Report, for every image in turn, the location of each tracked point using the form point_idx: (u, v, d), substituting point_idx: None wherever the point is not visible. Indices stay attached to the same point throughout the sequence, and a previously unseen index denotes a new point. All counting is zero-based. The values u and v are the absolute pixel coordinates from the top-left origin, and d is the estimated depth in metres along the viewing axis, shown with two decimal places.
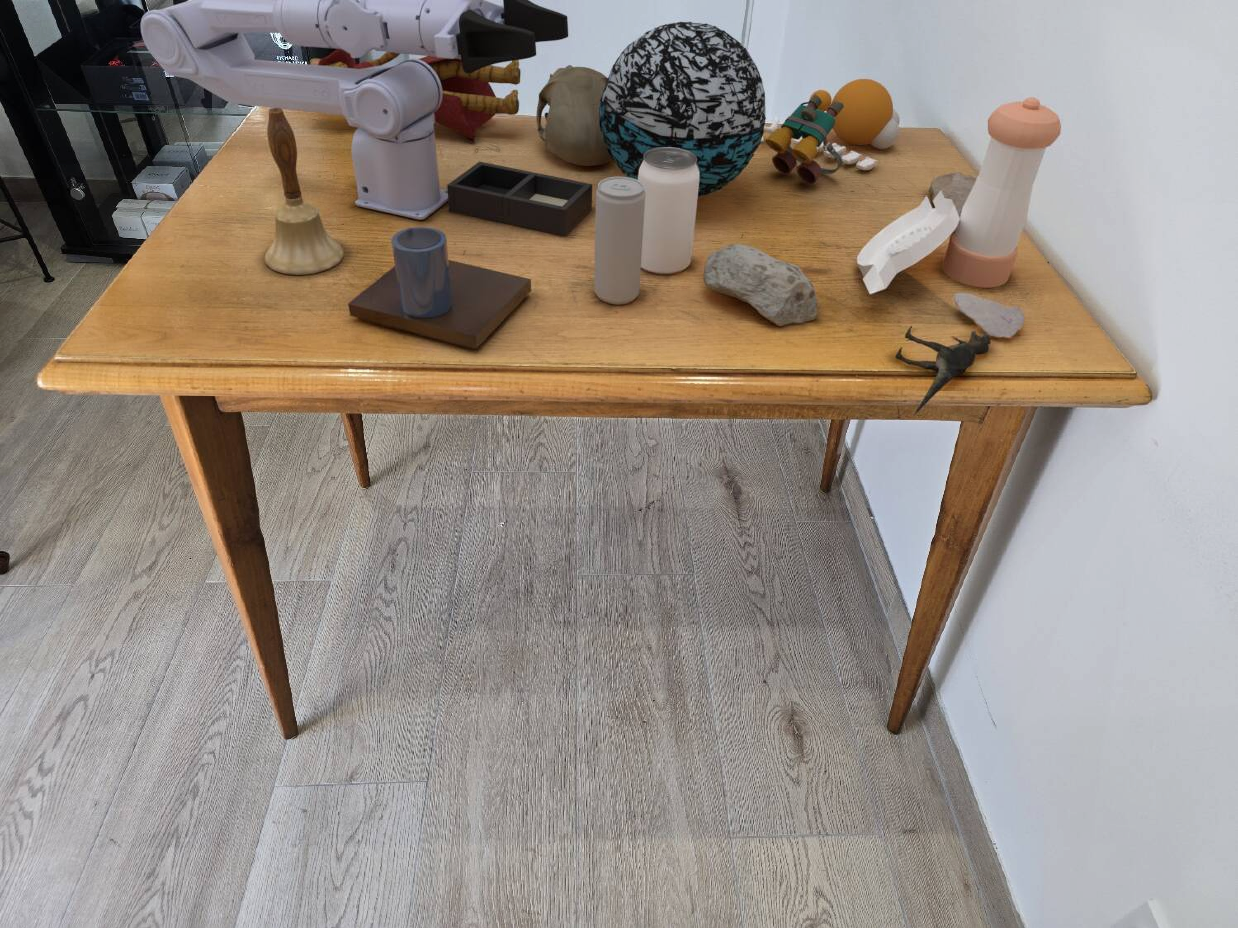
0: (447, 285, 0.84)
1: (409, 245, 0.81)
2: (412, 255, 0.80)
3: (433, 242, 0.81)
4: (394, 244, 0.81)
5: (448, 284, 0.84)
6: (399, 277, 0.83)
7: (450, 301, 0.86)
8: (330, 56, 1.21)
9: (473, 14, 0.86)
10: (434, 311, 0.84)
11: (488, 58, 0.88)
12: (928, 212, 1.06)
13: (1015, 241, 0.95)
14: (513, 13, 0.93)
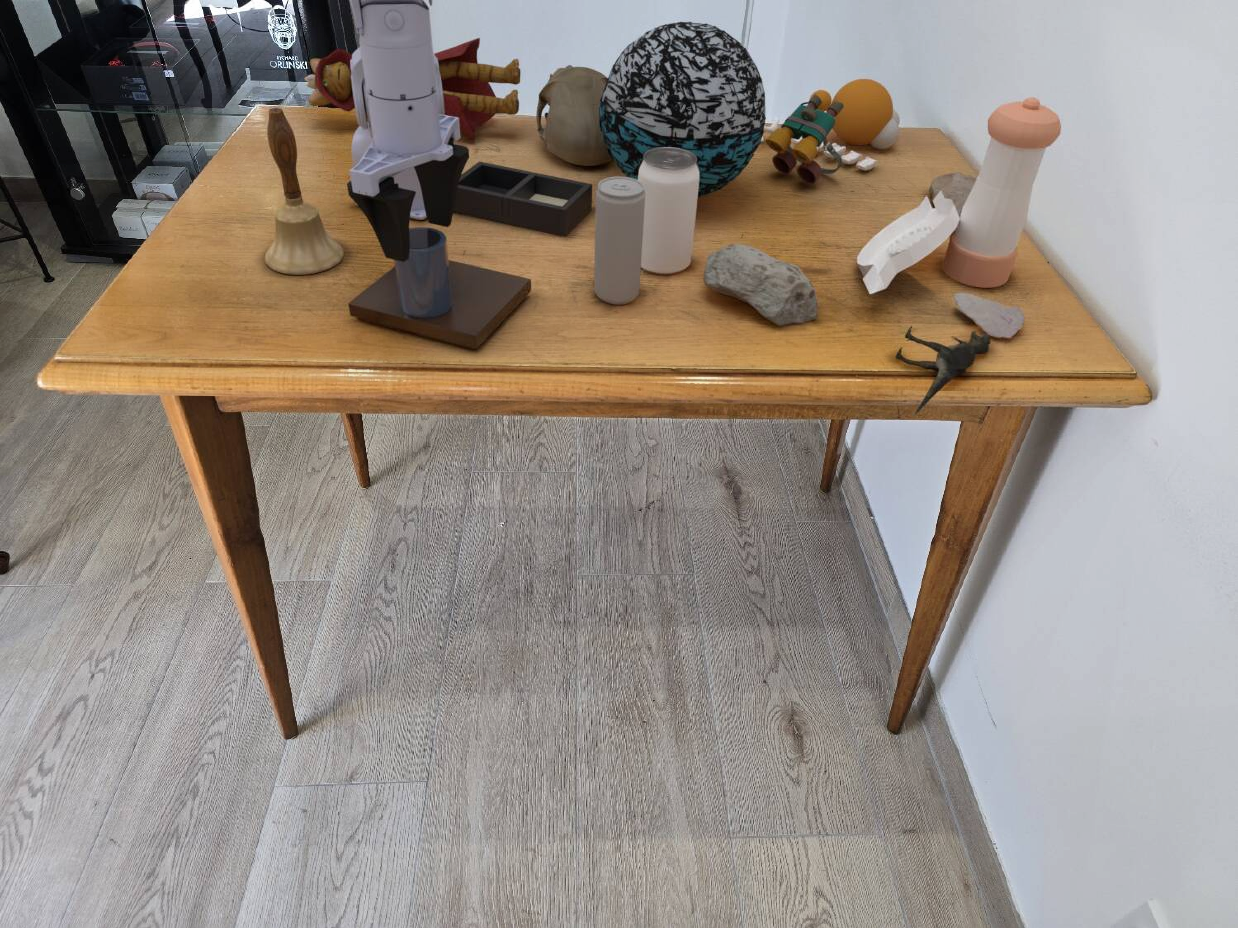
0: (447, 285, 0.84)
1: None
2: (412, 255, 0.80)
3: (433, 242, 0.81)
4: None
5: (448, 284, 0.84)
6: (399, 277, 0.83)
7: (450, 301, 0.86)
8: (330, 56, 1.21)
9: (410, 200, 0.74)
10: (434, 311, 0.84)
11: (369, 213, 0.76)
12: (928, 212, 1.06)
13: (1015, 241, 0.95)
14: (443, 165, 0.80)
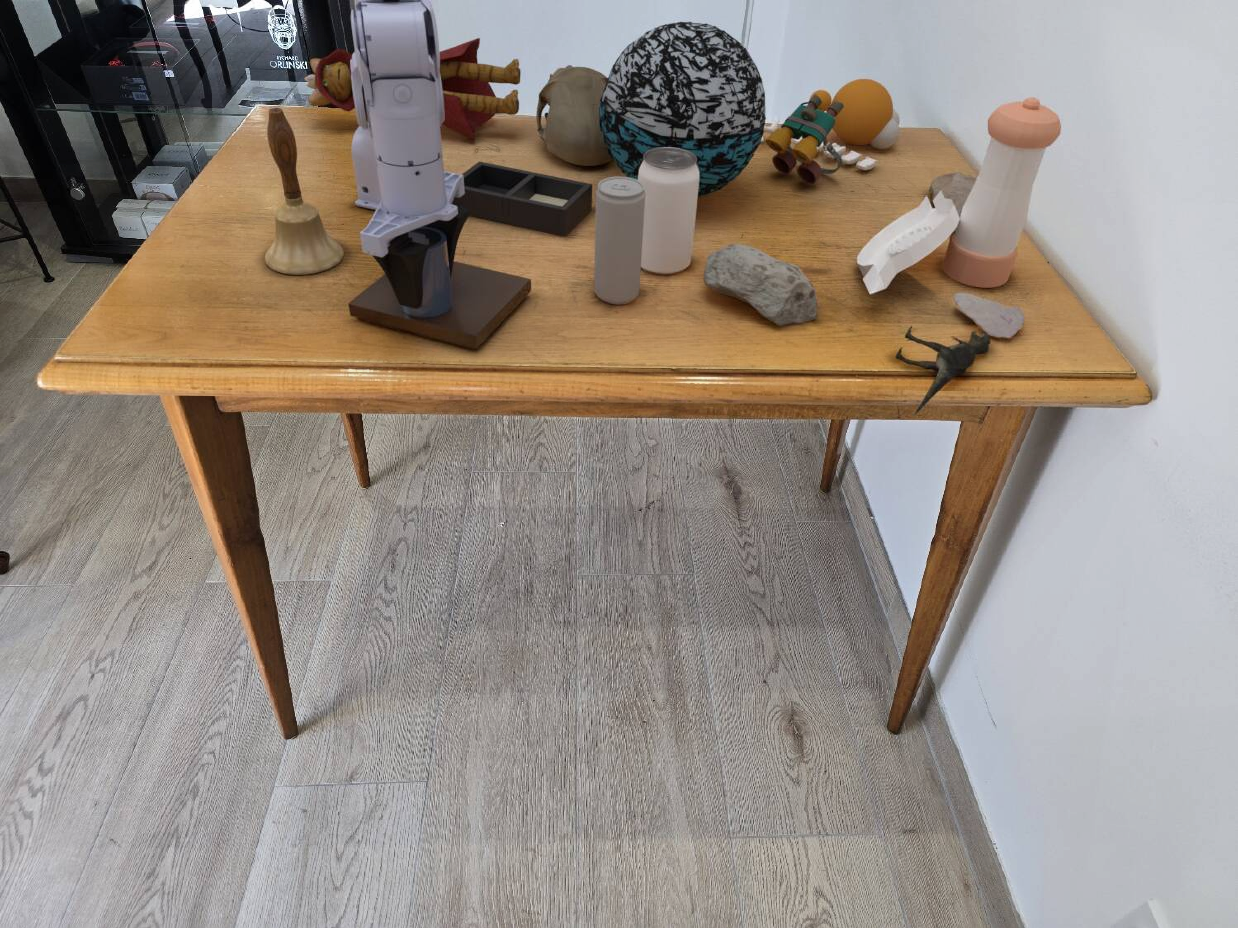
0: (447, 284, 0.84)
1: None
2: None
3: (433, 242, 0.81)
4: None
5: (448, 284, 0.84)
6: None
7: (450, 301, 0.86)
8: (330, 56, 1.21)
9: (423, 254, 0.79)
10: (434, 311, 0.84)
11: (385, 265, 0.80)
12: (928, 212, 1.06)
13: (1015, 241, 0.95)
14: (442, 225, 0.83)
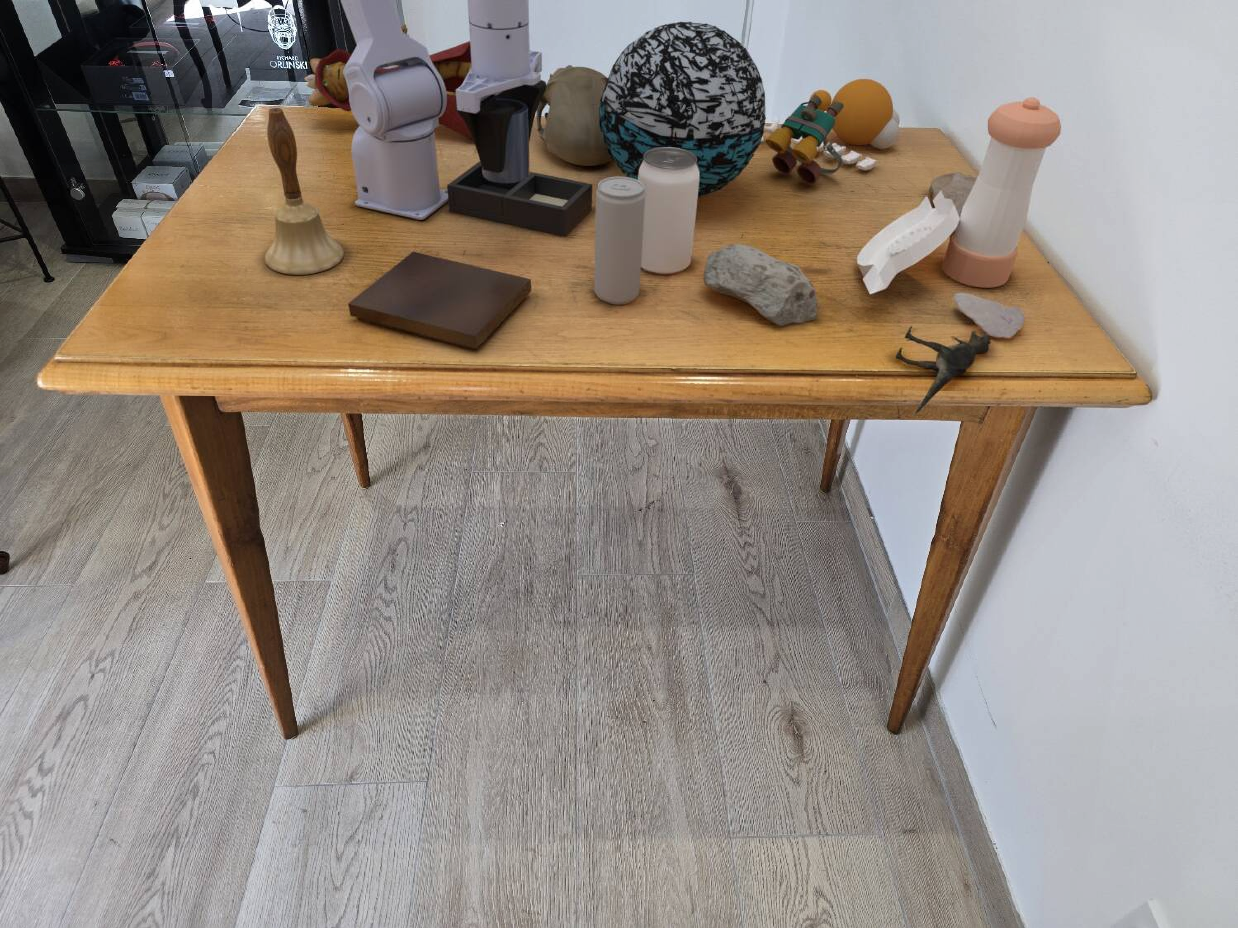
0: (527, 152, 0.92)
1: None
2: None
3: (516, 109, 0.89)
4: None
5: (527, 152, 0.92)
6: None
7: (528, 170, 0.93)
8: (330, 56, 1.21)
9: (509, 116, 0.86)
10: (514, 177, 0.92)
11: (473, 128, 0.88)
12: (928, 212, 1.06)
13: (1015, 241, 0.95)
14: (523, 96, 0.91)
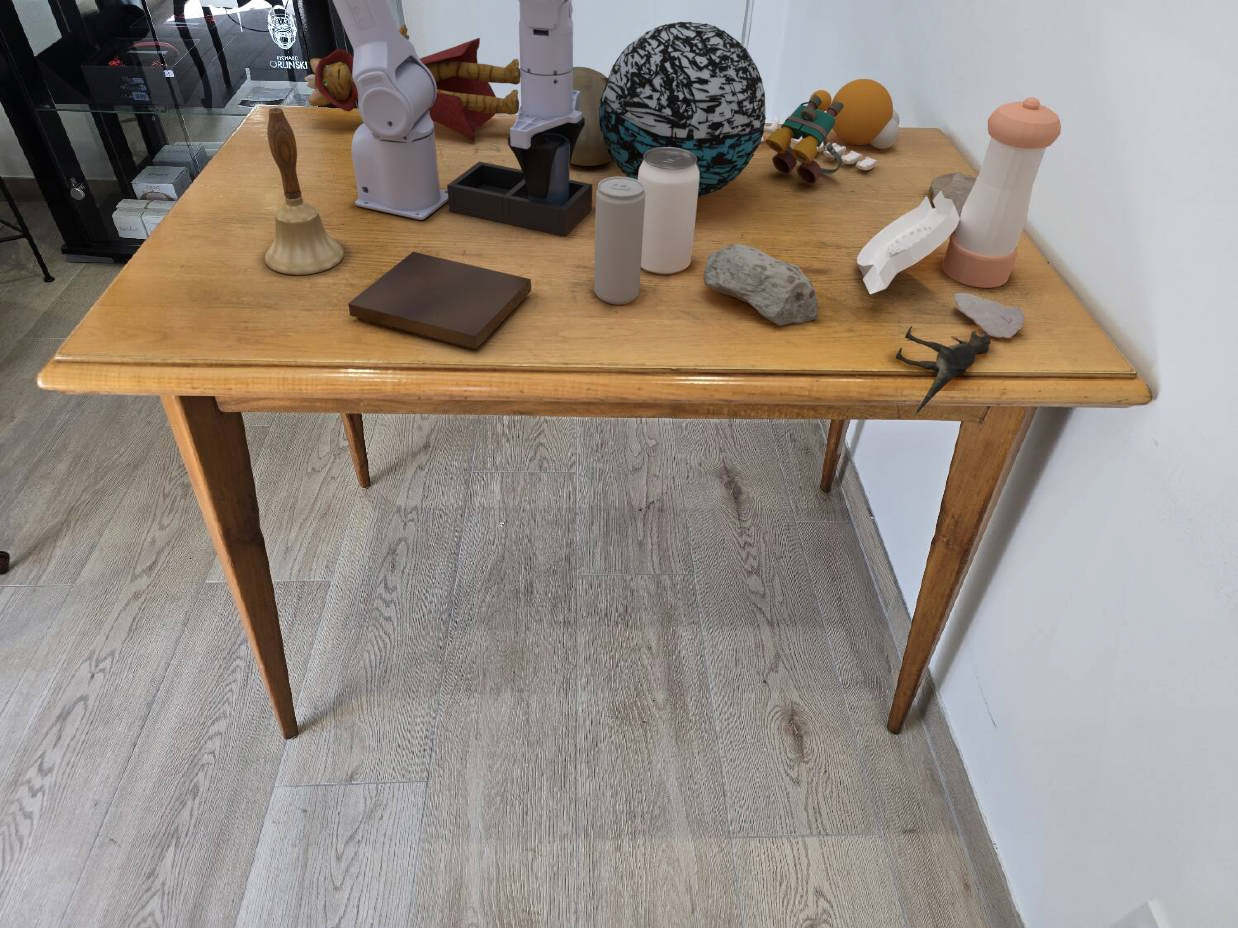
0: (568, 180, 1.03)
1: None
2: None
3: (560, 143, 1.00)
4: None
5: (569, 180, 1.03)
6: None
7: (569, 195, 1.05)
8: (330, 56, 1.21)
9: (555, 150, 0.98)
10: (557, 202, 1.04)
11: (522, 160, 0.99)
12: (928, 212, 1.06)
13: (1015, 241, 0.95)
14: (565, 131, 1.02)
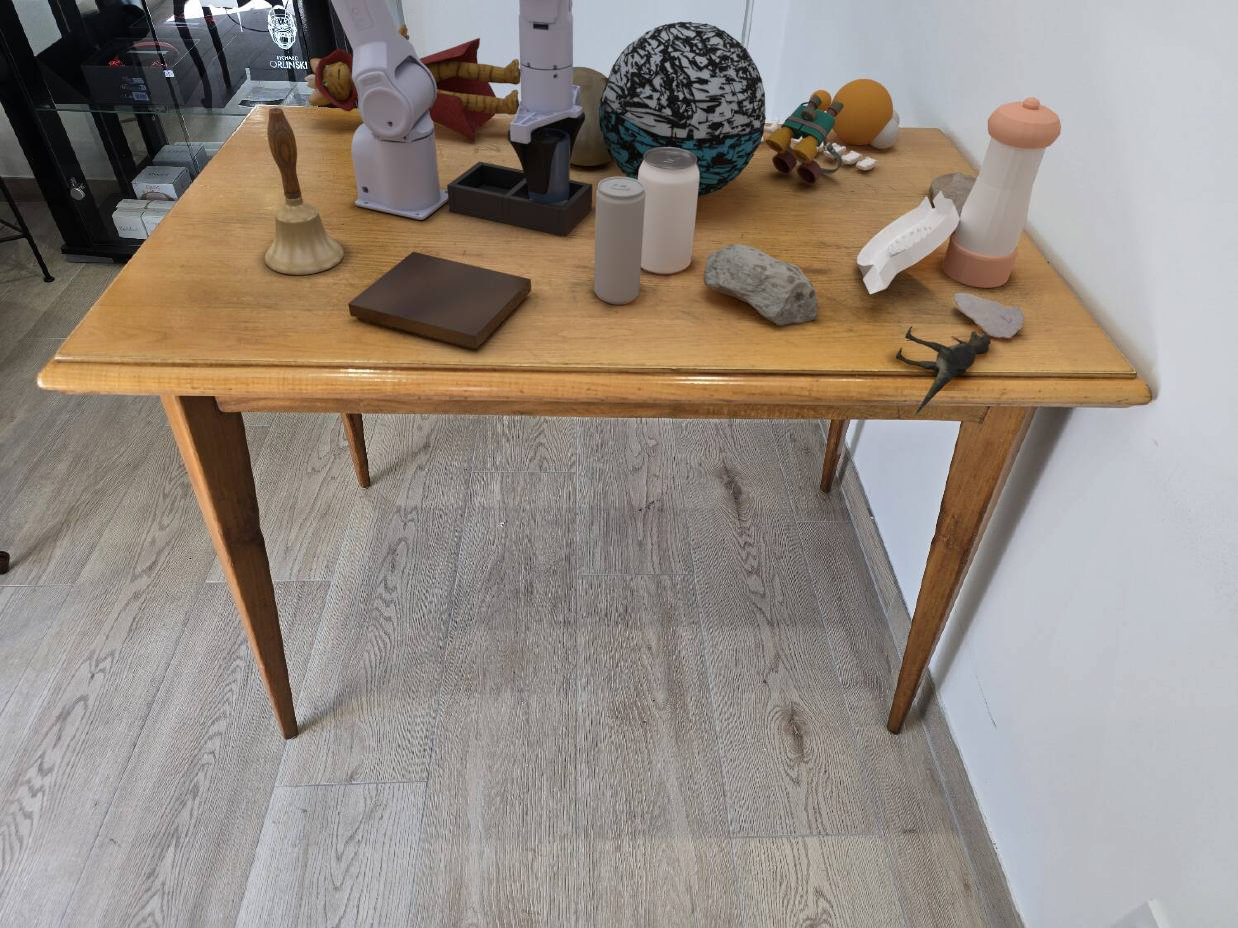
0: (568, 176, 1.03)
1: None
2: None
3: (560, 138, 1.00)
4: None
5: (569, 176, 1.03)
6: None
7: (569, 191, 1.04)
8: (330, 56, 1.21)
9: (555, 145, 0.97)
10: (557, 198, 1.03)
11: (522, 155, 0.99)
12: (928, 212, 1.06)
13: (1015, 241, 0.95)
14: (565, 126, 1.02)
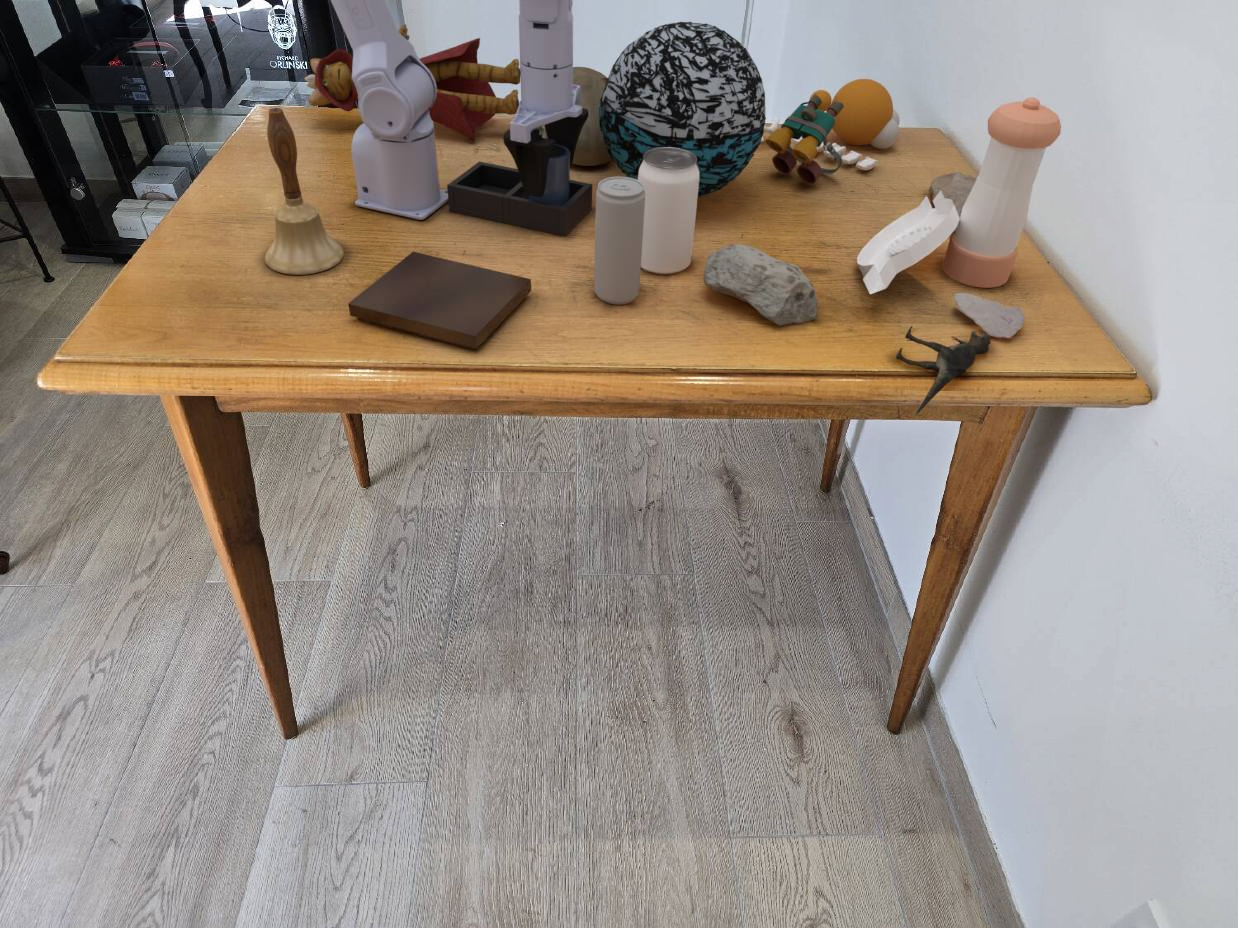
0: (568, 190, 1.04)
1: None
2: None
3: (560, 154, 1.01)
4: None
5: (569, 190, 1.04)
6: None
7: None
8: (330, 56, 1.21)
9: (551, 147, 0.96)
10: None
11: (518, 158, 0.98)
12: (928, 212, 1.06)
13: (1015, 241, 0.95)
14: (568, 122, 1.03)
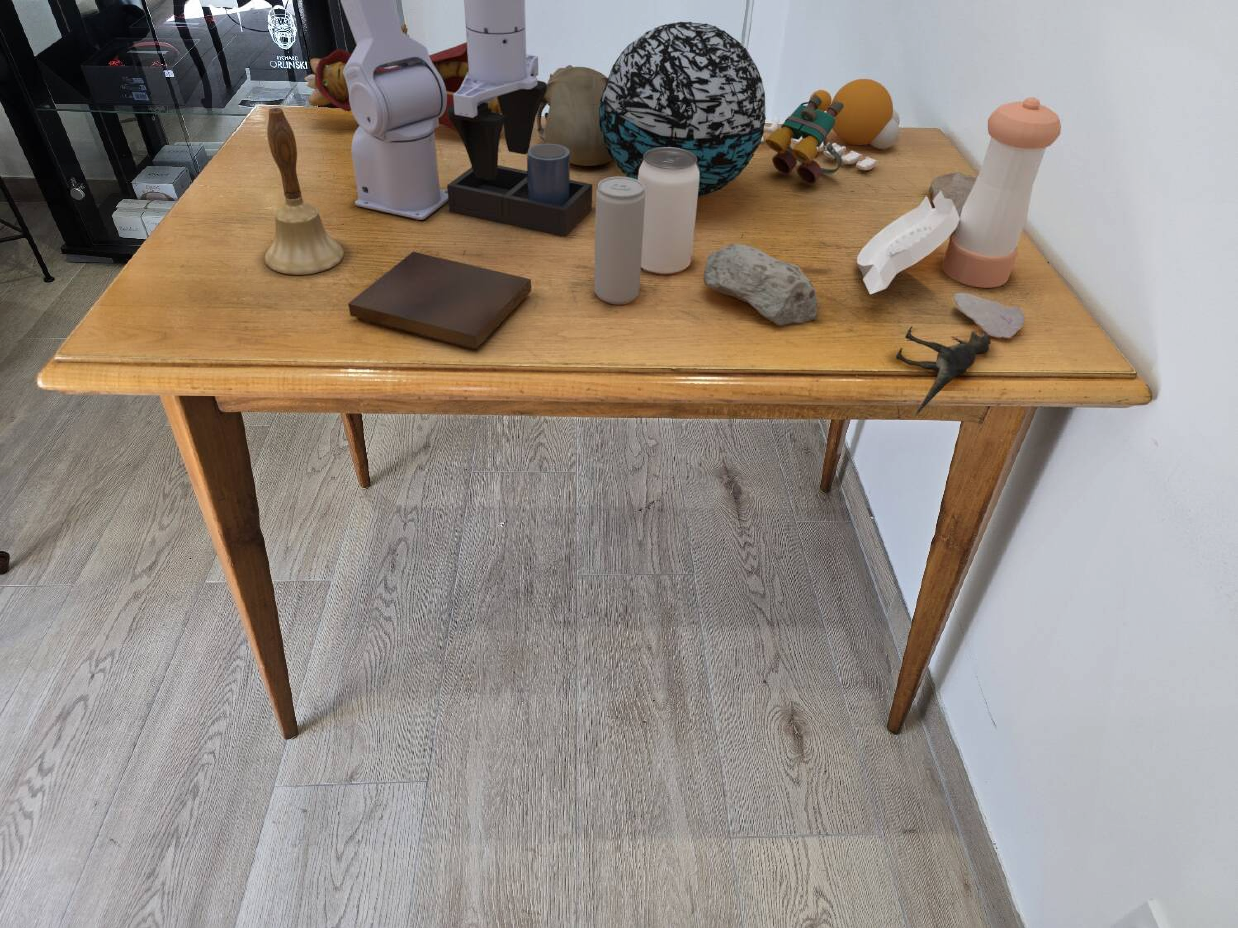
0: (568, 190, 1.04)
1: (542, 155, 1.01)
2: (545, 163, 1.00)
3: (560, 154, 1.01)
4: (529, 155, 1.01)
5: (569, 190, 1.04)
6: (531, 183, 1.02)
7: None
8: (330, 56, 1.21)
9: (502, 123, 0.86)
10: None
11: (465, 135, 0.87)
12: (928, 212, 1.06)
13: (1015, 241, 0.95)
14: (524, 97, 0.92)
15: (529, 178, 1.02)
